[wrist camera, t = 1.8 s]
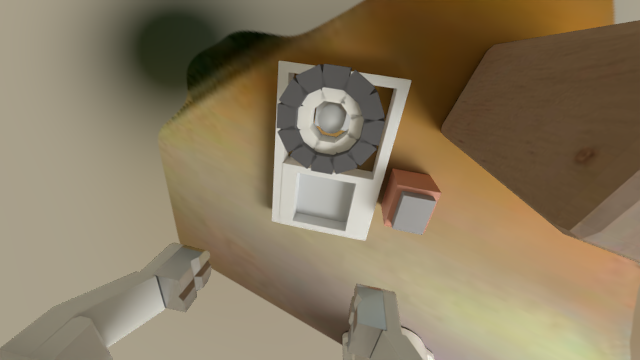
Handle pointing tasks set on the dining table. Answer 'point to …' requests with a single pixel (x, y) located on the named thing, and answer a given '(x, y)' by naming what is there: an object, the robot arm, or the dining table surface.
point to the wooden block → (562, 129)
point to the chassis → (337, 189)
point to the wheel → (307, 138)
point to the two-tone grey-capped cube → (409, 201)
